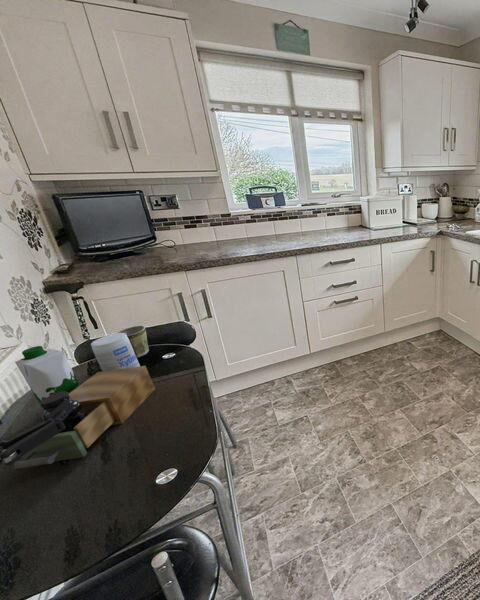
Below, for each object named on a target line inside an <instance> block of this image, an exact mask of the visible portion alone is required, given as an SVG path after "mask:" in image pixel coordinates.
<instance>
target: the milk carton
mask: <svg viewBox="0 0 480 600" xmlns="http://www.w3.org/2000/svg"><path fill="white" fill-rule="evenodd" d="M21 355H22V356H23V358H20V359H19V360H15V361H14V363H15V365H16V366H17V368H18V370H19V372H20V373H21V375H22V376H23V378H24V380H25V382H26V384H27V385H28V387H29V389H30V390H31V392H32V394H33V395H34V397H35V399H36V401H37V403H39V405H40V406H41V404H40V402H41V401H42V400H43V399H45V398H46V397H48V396H50V395H52V394H55V393H59V392H67V393H68V394H69V393H70V392H72V391H73V390H74V389H76V388H77V387H78V386H80V385H81V384H80V382H79V380H78V378H77V376H76V374H75V373H74V371H73V368H72V367H71V365H70V363H69V361H68V359H67V355H66V353H65V351H64V350H60V349H54V348H47V349H45V348H44V347H43V346H42V345H37V346H33V347H32V346H31V347H29V348H26V349H24V350H22V352H21Z"/></svg>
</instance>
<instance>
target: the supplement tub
mask: <svg viewBox="0 0 480 600" xmlns="http://www.w3.org/2000/svg"><path fill="white" fill-rule="evenodd" d="M115 333H116V332H115ZM115 333H112V334H108V335H104V336H102V337H99V338H96V339H95V340H93V341H92V342H91V343H90V347H91V350H92V352H93V354H94V357H95V360H96V361H97V363H98V365H99V368H100V370H101V372H102V371H109V370H117V369H124V368H132V367H139V366H141V365H140V363H139V360H138V358H136V355H135V353H134V350H133V348H132V346H131V343H130V341H129V339H128V337H127V335H126V334H125V333H116V334H115Z"/></svg>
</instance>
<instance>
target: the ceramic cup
mask: <svg viewBox="0 0 480 600" xmlns="http://www.w3.org/2000/svg"><path fill="white" fill-rule="evenodd" d="M116 333H125V334H126V335H127V337H128V339H129V341H130V343H131V346H132V348H133V350H134V353H135V355H136V358H137V359H138V358H140V357H143V356H145V355H147V354H148V353H149V351H150V347H149V343H148V342H149V341H148V338H147V337H148V336H147V330H146V327H145V326H144V325H136V326H135V325H133V326H130V327H127V328H123V329H121V330H118V331H117V332H115V333H114V334H116Z"/></svg>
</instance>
